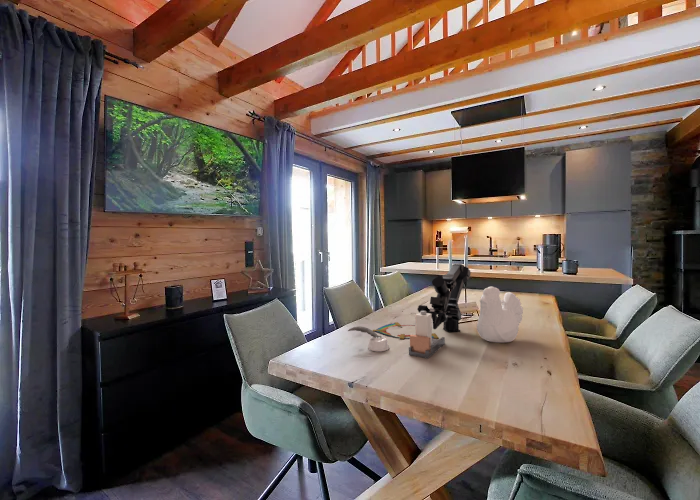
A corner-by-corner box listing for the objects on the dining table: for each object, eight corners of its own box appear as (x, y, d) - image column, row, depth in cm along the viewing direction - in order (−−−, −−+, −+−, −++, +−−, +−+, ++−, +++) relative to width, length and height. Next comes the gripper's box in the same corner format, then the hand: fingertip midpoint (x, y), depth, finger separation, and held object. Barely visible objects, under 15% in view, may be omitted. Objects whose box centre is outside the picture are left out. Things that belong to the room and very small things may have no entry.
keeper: (420, 344, 138) (420, 309, 137) (431, 347, 135) (431, 310, 134) (415, 348, 134) (415, 311, 133) (427, 350, 131) (426, 313, 130)
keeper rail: (427, 341, 148) (427, 324, 148) (444, 344, 144) (444, 327, 143) (408, 354, 132) (408, 336, 132) (427, 358, 127) (427, 339, 127)
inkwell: (392, 350, 137) (391, 327, 137) (350, 354, 134) (349, 330, 133) (385, 343, 146) (385, 321, 146) (346, 347, 143) (345, 324, 142)
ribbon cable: (374, 340, 152) (438, 339, 151) (374, 338, 152) (438, 336, 151) (371, 324, 181) (425, 323, 180) (371, 322, 181) (425, 321, 180)
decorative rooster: (490, 349, 137) (490, 290, 135) (468, 337, 152) (468, 284, 151) (540, 343, 142) (541, 286, 141) (515, 333, 157) (515, 282, 156)
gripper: (418, 288, 153) (409, 316, 144) (458, 291, 142) (451, 322, 134) (425, 301, 160) (416, 329, 151) (464, 305, 149) (457, 335, 141)
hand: (434, 328), depth 144 cm, fingers closed
